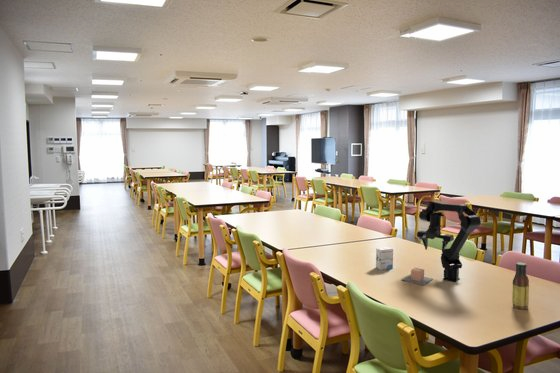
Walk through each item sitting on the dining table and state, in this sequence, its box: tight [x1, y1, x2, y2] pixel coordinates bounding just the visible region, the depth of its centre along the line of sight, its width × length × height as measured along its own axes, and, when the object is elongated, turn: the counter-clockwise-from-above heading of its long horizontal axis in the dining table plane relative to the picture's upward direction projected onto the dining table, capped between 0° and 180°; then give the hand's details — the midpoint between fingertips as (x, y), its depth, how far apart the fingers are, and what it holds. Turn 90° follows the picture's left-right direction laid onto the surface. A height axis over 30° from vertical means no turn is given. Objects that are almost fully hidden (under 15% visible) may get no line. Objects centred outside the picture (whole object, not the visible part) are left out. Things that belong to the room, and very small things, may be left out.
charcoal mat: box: [401, 273, 434, 286], centre depth 217 cm, size 12×12×1 cm
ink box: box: [375, 246, 394, 271], centre depth 237 cm, size 9×5×12 cm, turn 105°
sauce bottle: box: [511, 261, 530, 310], centre depth 179 cm, size 7×6×20 cm
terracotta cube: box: [410, 267, 425, 281], centre depth 217 cm, size 5×5×5 cm
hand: (434, 251), depth 229 cm, fingers open, 9 cm apart
